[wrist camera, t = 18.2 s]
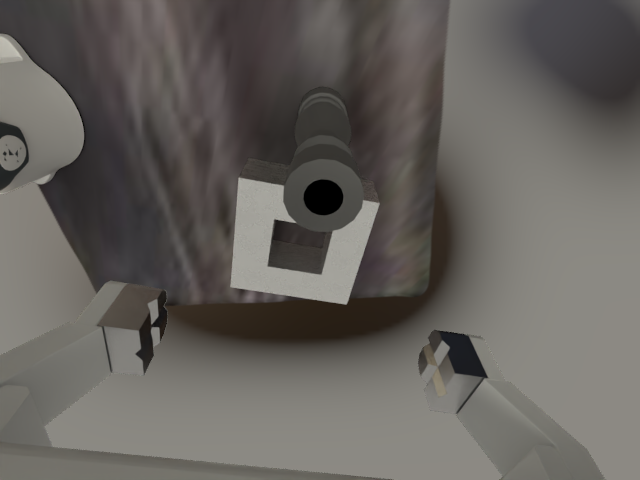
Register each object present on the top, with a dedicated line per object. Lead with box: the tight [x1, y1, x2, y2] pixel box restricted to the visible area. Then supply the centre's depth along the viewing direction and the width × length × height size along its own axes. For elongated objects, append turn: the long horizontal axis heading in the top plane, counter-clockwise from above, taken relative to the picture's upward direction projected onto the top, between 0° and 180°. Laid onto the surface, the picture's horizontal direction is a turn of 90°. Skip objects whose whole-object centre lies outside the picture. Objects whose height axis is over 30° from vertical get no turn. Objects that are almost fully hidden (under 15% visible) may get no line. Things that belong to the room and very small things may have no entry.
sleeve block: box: [231, 158, 380, 304], centre depth 51 cm, size 18×18×7 cm
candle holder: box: [283, 87, 364, 232], centre depth 35 cm, size 6×6×25 cm
